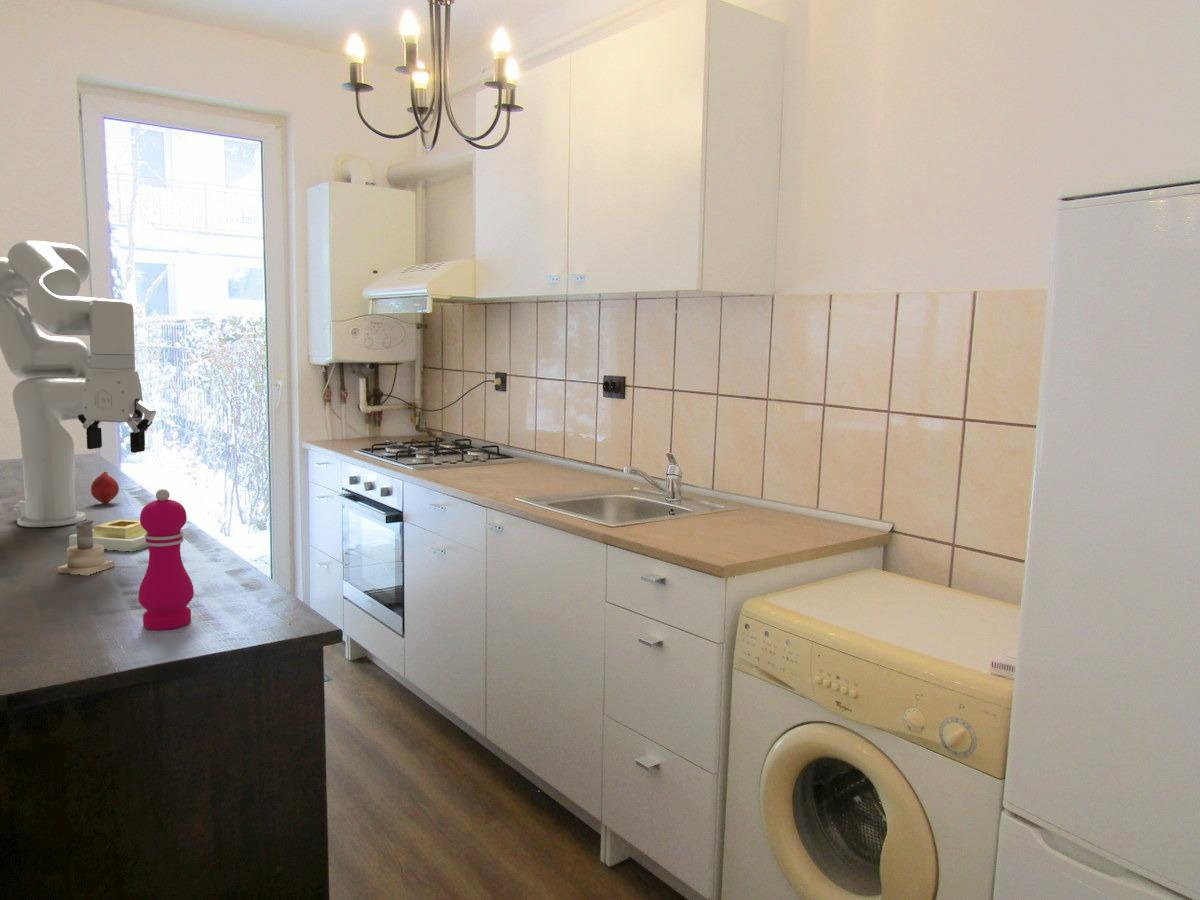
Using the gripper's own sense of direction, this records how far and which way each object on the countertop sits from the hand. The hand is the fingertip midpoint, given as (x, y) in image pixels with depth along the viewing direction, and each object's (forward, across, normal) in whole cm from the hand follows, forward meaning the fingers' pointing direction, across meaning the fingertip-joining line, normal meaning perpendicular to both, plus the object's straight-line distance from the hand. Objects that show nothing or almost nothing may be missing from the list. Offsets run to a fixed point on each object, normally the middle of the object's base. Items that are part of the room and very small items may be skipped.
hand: (116, 450), depth 166 cm
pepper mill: (+18, +41, -40) cm, 60 cm away
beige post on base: (+18, +9, -19) cm, 28 cm away
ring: (+18, +1, 0) cm, 18 cm away
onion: (+20, -30, +31) cm, 47 cm away
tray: (+19, +1, +1) cm, 19 cm away
